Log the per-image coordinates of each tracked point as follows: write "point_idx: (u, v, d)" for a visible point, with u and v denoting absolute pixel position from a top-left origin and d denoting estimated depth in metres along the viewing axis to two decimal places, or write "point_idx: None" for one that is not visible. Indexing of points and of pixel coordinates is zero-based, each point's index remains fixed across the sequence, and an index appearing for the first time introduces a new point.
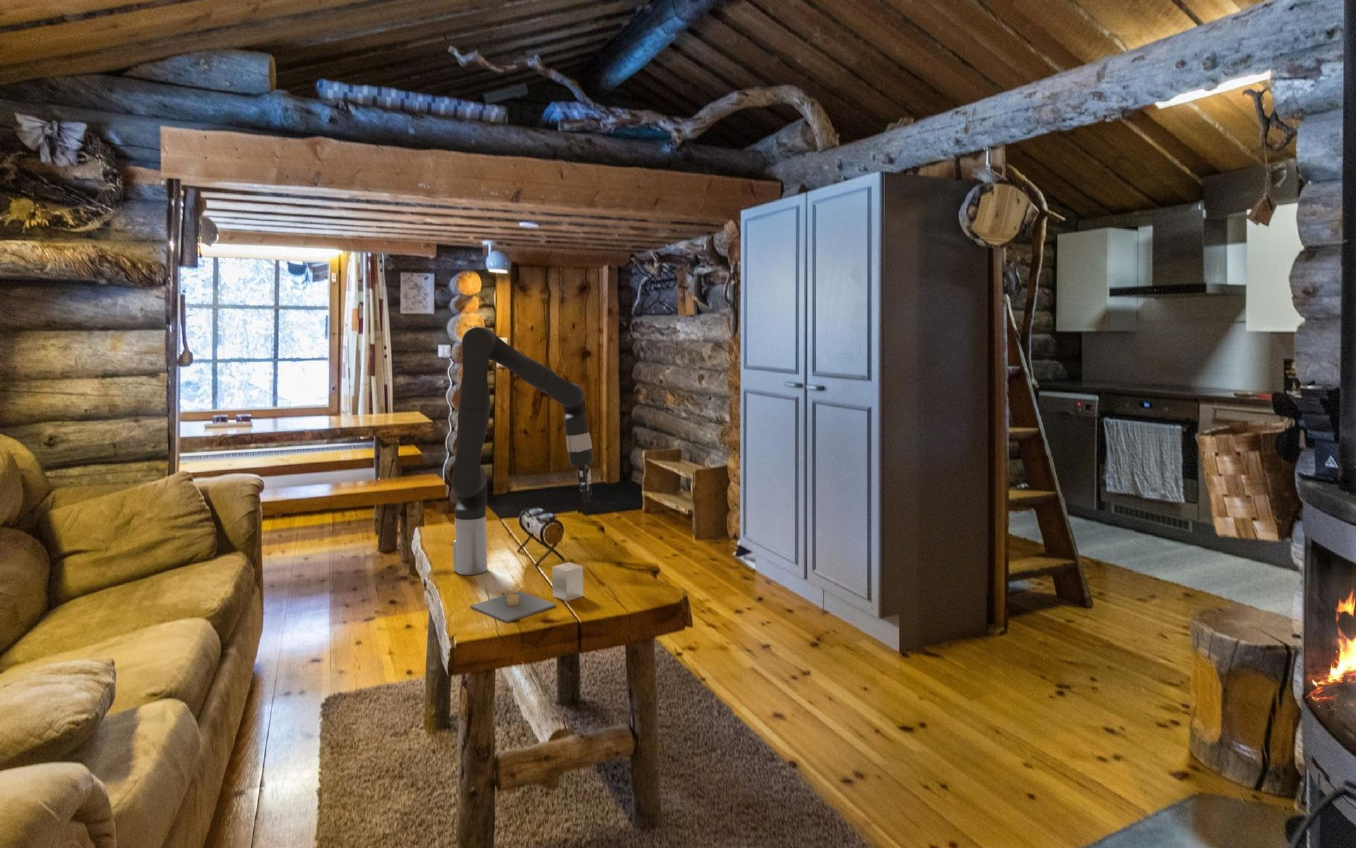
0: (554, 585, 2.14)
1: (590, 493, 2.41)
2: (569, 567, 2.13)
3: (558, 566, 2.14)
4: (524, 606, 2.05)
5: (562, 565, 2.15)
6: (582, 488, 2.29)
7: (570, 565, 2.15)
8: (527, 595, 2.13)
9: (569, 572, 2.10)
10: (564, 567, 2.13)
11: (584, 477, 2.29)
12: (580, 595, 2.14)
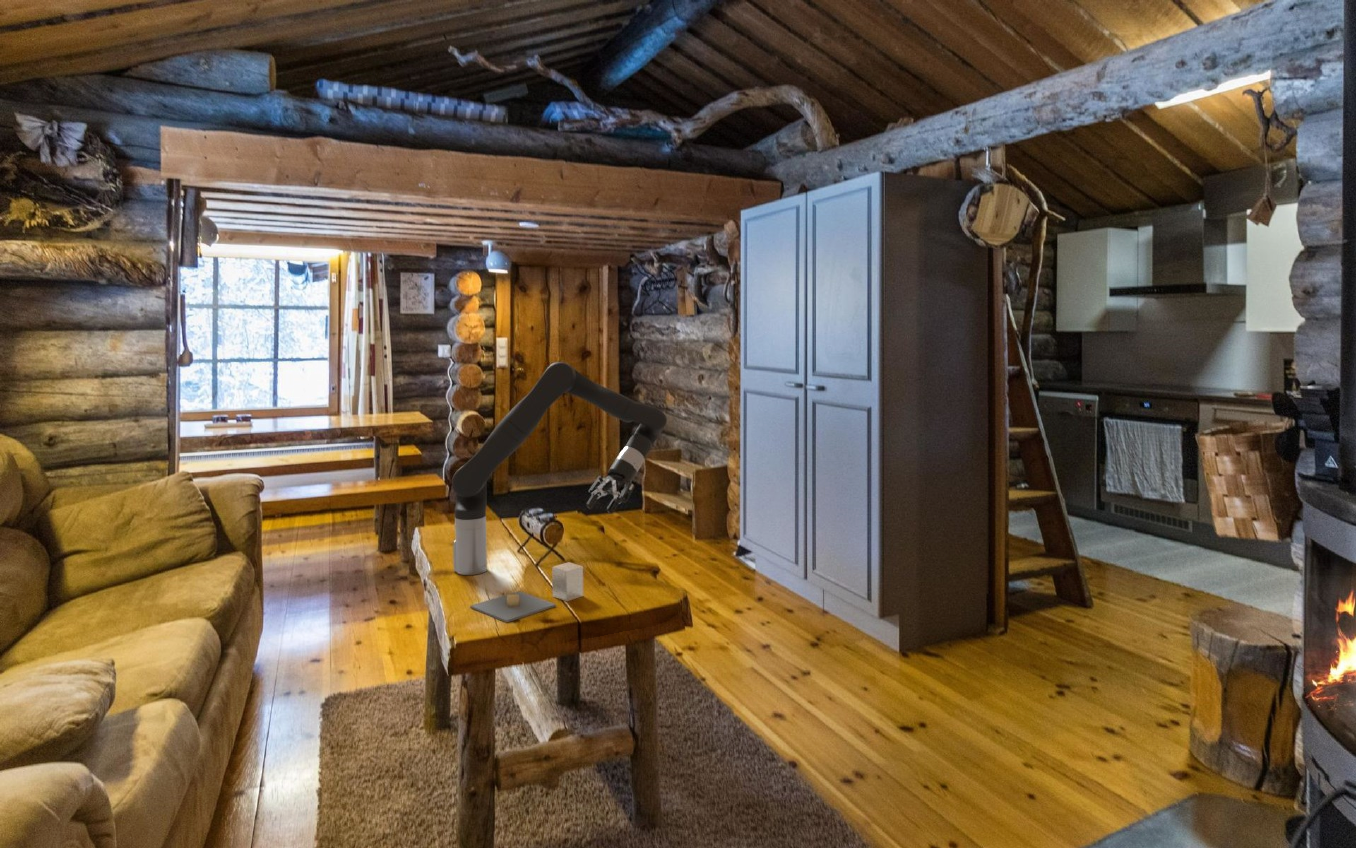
0: (554, 585, 2.14)
1: (592, 506, 2.24)
2: (569, 567, 2.13)
3: (558, 566, 2.14)
4: (524, 606, 2.05)
5: (562, 565, 2.15)
6: (623, 498, 2.18)
7: (570, 565, 2.15)
8: (527, 595, 2.13)
9: (569, 572, 2.10)
10: (564, 567, 2.13)
11: (631, 491, 2.20)
12: (580, 595, 2.14)
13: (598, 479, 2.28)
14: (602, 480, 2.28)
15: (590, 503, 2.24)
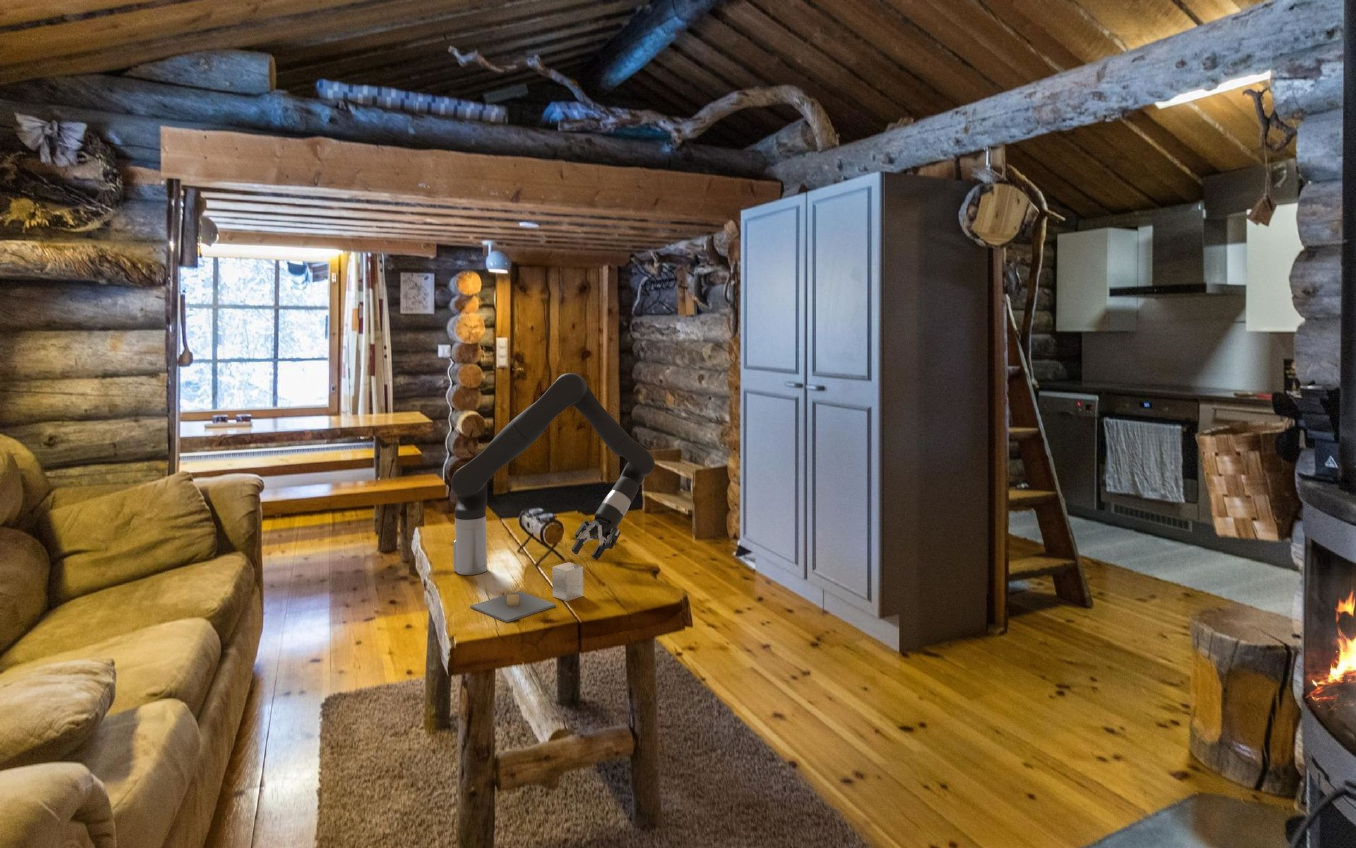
0: (554, 585, 2.14)
1: (578, 551, 2.22)
2: (569, 567, 2.13)
3: (558, 566, 2.14)
4: (524, 606, 2.05)
5: (562, 565, 2.15)
6: (609, 545, 2.16)
7: (570, 565, 2.15)
8: (527, 595, 2.13)
9: (569, 572, 2.10)
10: (564, 567, 2.13)
11: (617, 537, 2.18)
12: (580, 595, 2.14)
13: (584, 523, 2.25)
14: (588, 524, 2.25)
15: (576, 548, 2.21)
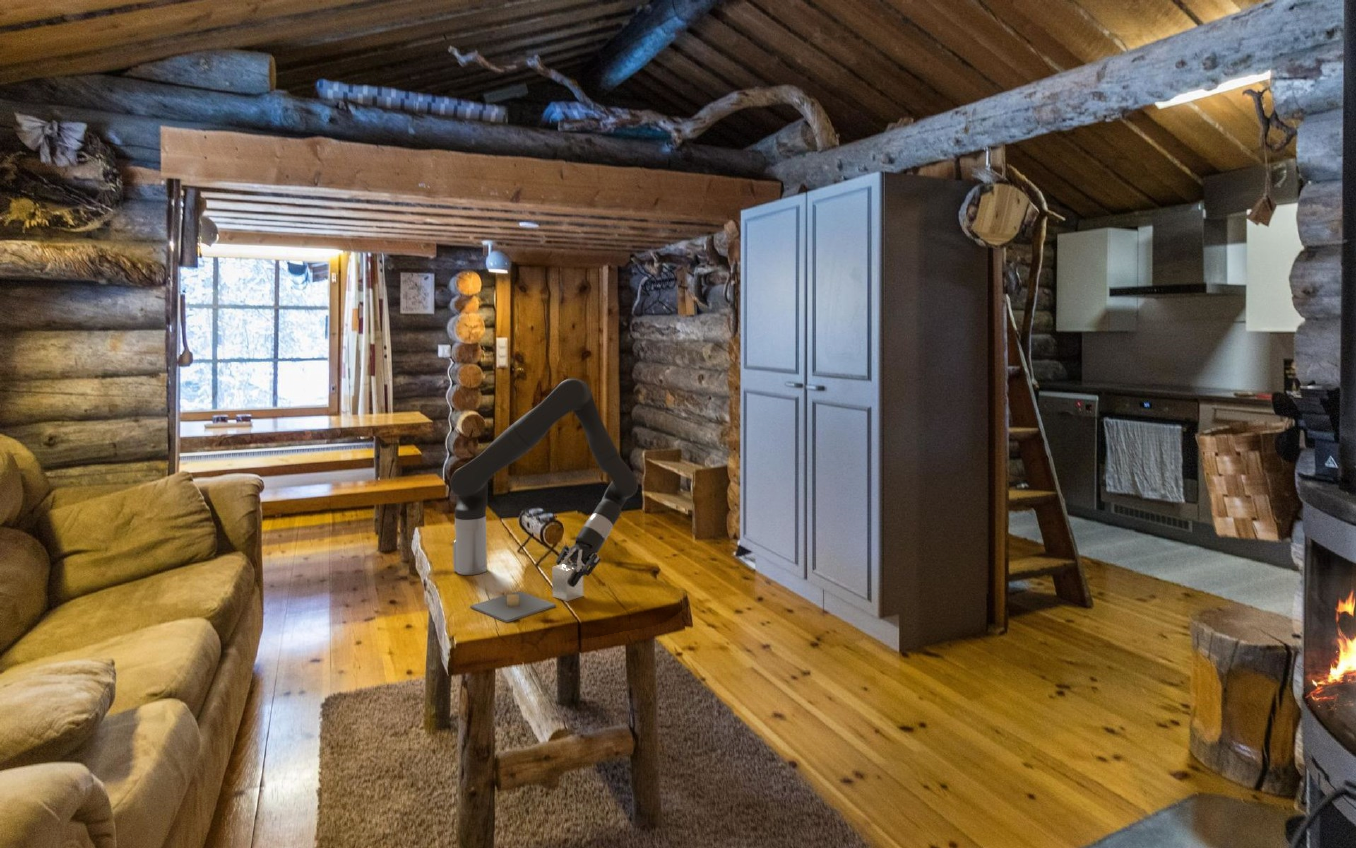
0: (554, 585, 2.14)
1: None
2: (569, 567, 2.13)
3: (558, 566, 2.14)
4: (524, 606, 2.05)
5: (562, 565, 2.15)
6: (586, 571, 2.11)
7: (570, 565, 2.15)
8: (527, 595, 2.13)
9: (569, 572, 2.10)
10: (564, 567, 2.13)
11: (595, 564, 2.13)
12: (580, 595, 2.14)
13: (564, 549, 2.20)
14: (568, 549, 2.20)
15: None
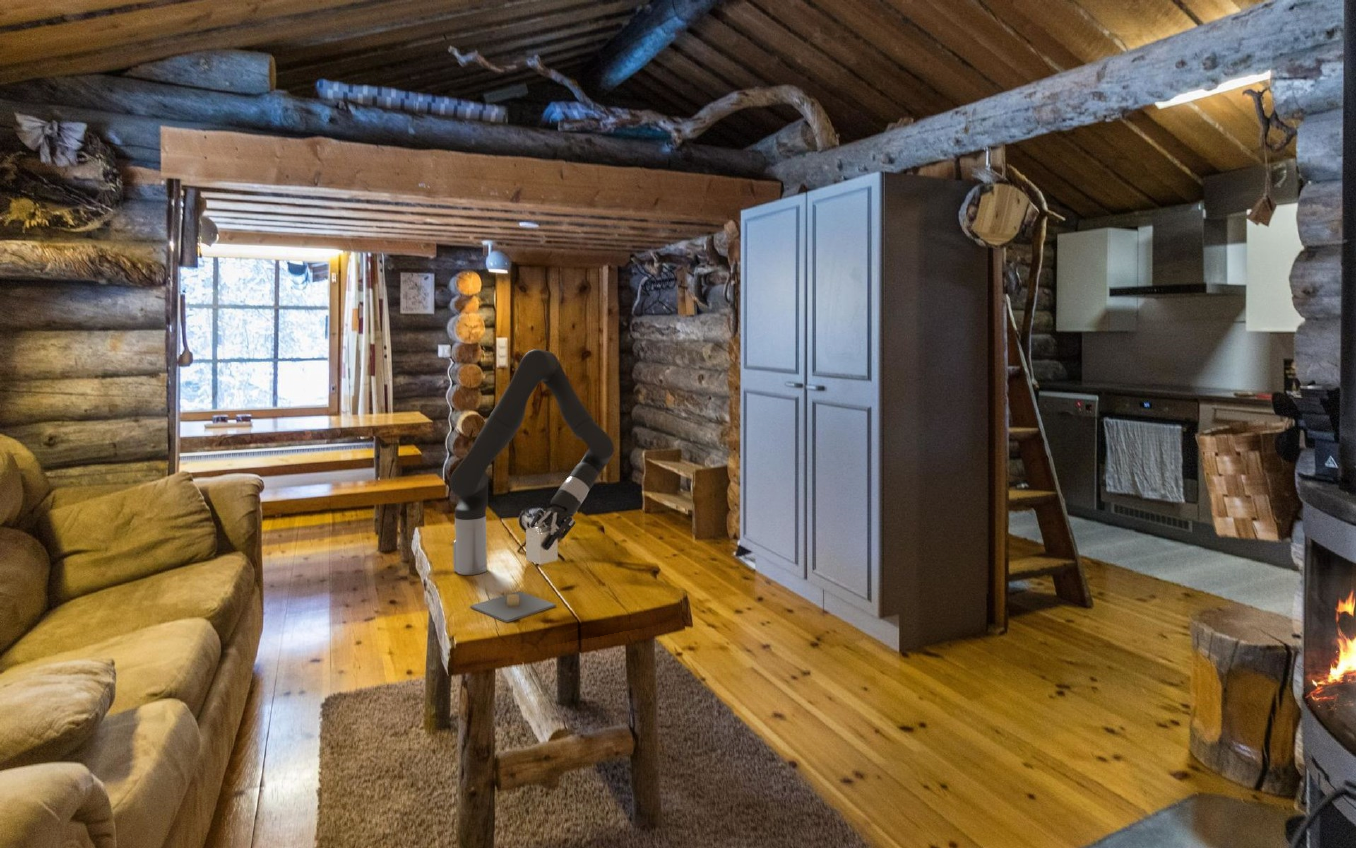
0: (528, 548, 2.08)
1: None
2: (544, 530, 2.08)
3: (532, 529, 2.09)
4: (524, 606, 2.05)
5: (536, 528, 2.10)
6: (560, 534, 2.06)
7: (544, 528, 2.10)
8: (527, 595, 2.13)
9: (543, 535, 2.05)
10: (538, 530, 2.07)
11: (570, 527, 2.08)
12: (554, 559, 2.09)
13: (539, 512, 2.15)
14: (543, 513, 2.15)
15: None
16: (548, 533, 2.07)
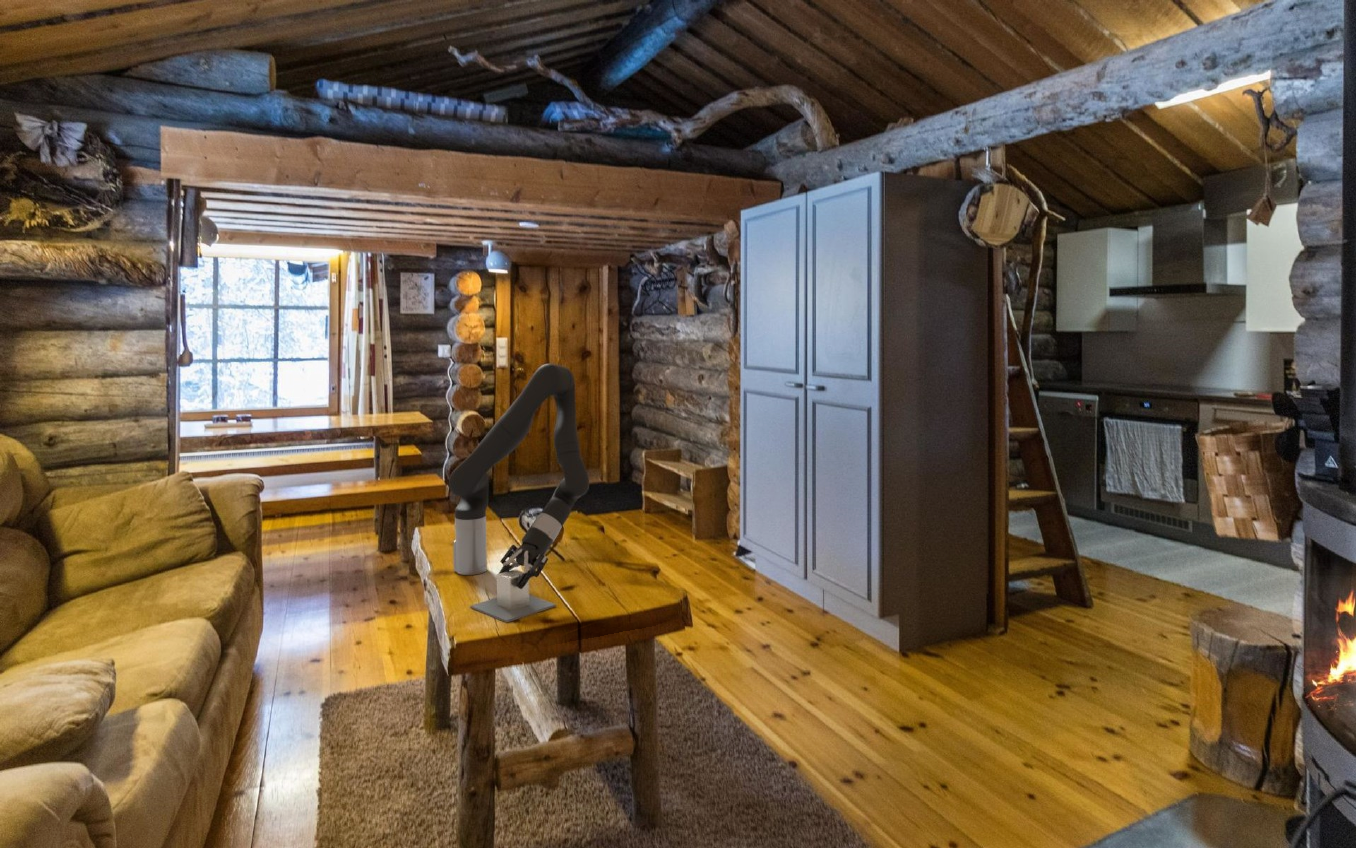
0: (498, 593, 2.05)
1: None
2: (514, 574, 2.04)
3: (503, 573, 2.05)
4: (524, 606, 2.05)
5: (507, 572, 2.06)
6: (535, 572, 2.02)
7: (515, 572, 2.06)
8: None
9: (513, 580, 2.01)
10: (509, 575, 2.04)
11: (543, 564, 2.04)
12: (526, 604, 2.05)
13: (511, 548, 2.11)
14: (516, 549, 2.11)
15: None
16: None
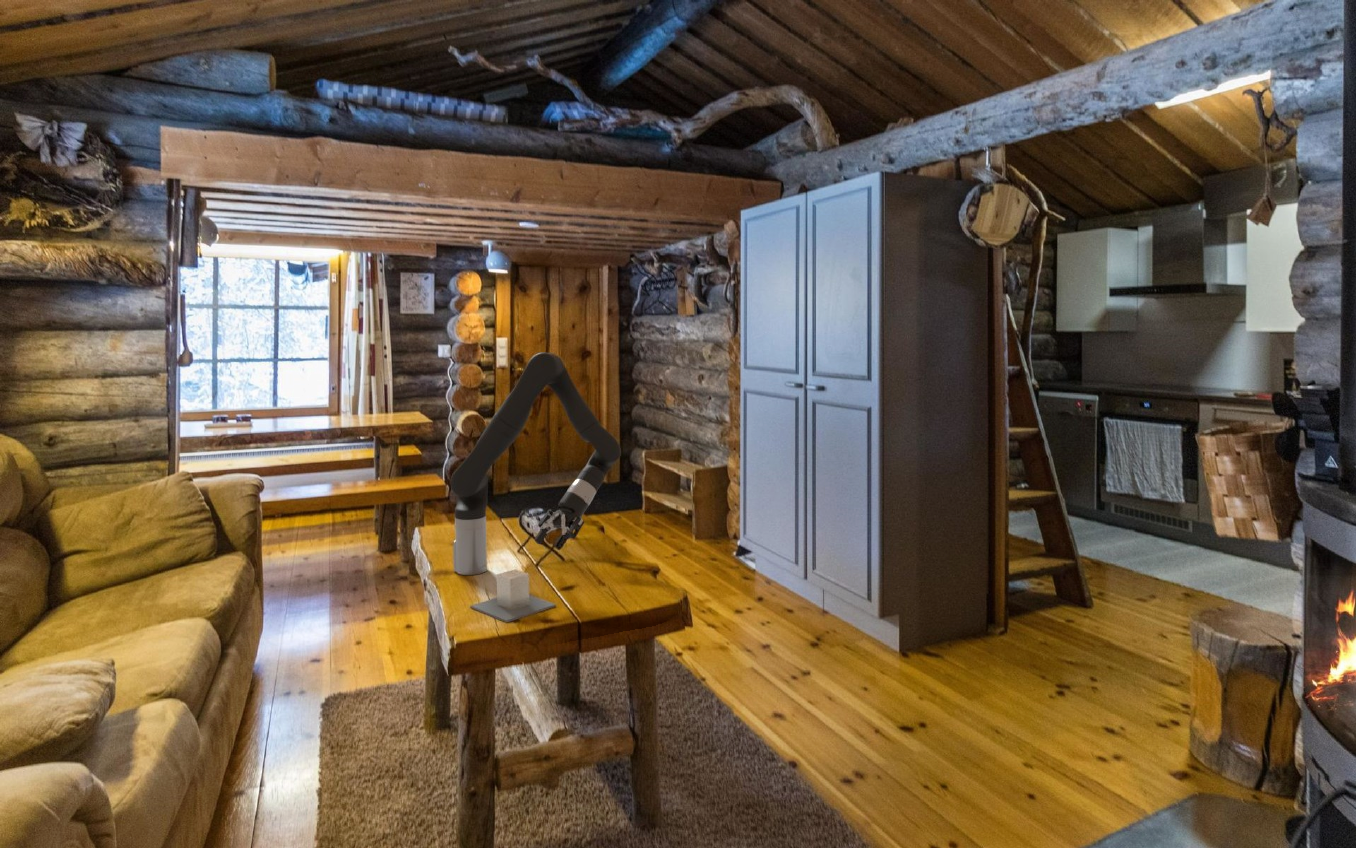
0: (498, 593, 2.05)
1: (541, 541, 2.16)
2: (514, 574, 2.04)
3: (503, 573, 2.05)
4: (524, 606, 2.05)
5: (507, 572, 2.06)
6: (572, 534, 2.10)
7: (515, 572, 2.06)
8: None
9: (513, 580, 2.01)
10: (509, 575, 2.04)
11: (580, 527, 2.12)
12: (526, 604, 2.05)
13: (548, 512, 2.20)
14: (552, 513, 2.20)
15: (539, 538, 2.16)
16: (519, 578, 2.03)
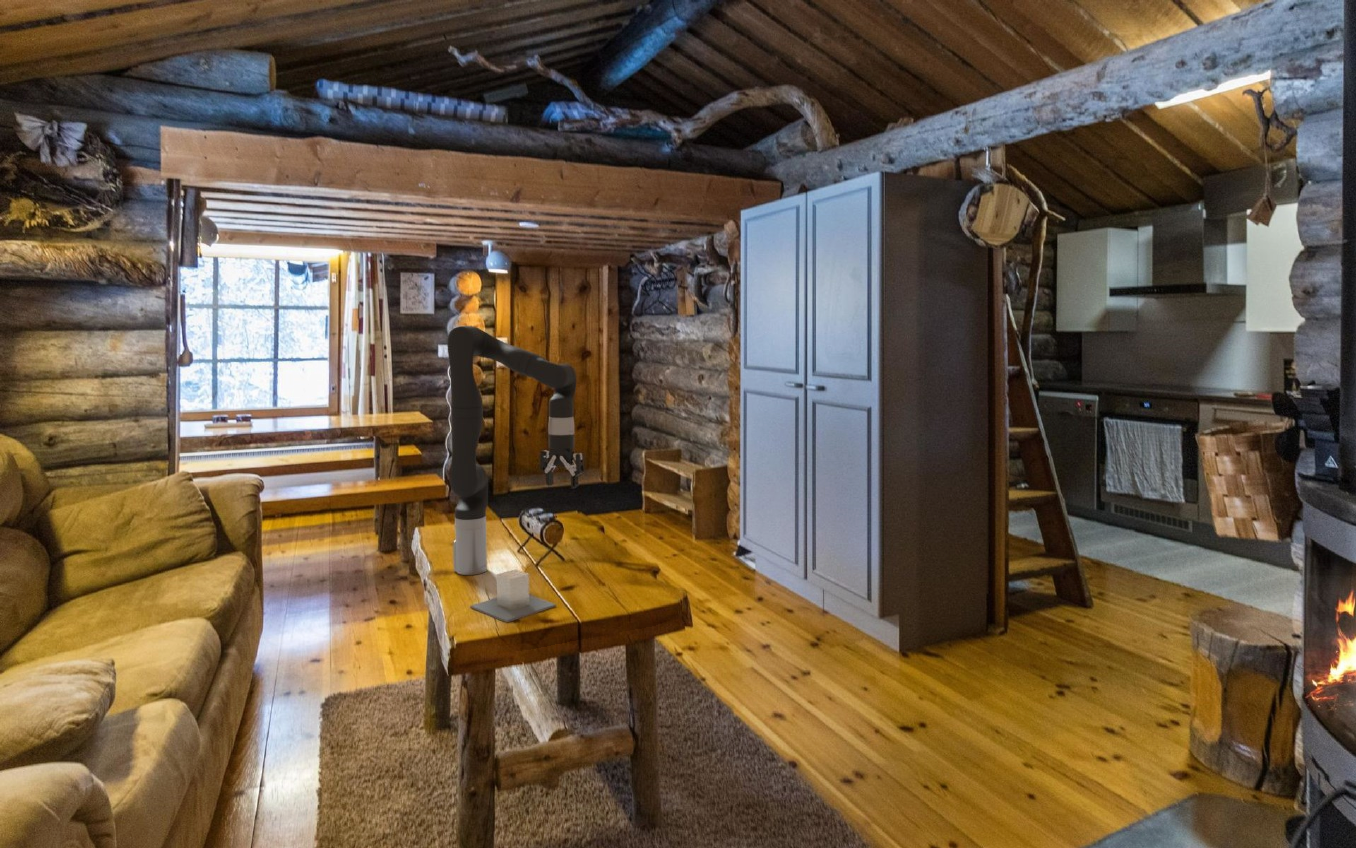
0: (498, 593, 2.05)
1: (552, 481, 2.29)
2: (514, 574, 2.04)
3: (503, 573, 2.05)
4: (524, 606, 2.05)
5: (507, 572, 2.06)
6: (581, 471, 2.23)
7: (515, 572, 2.06)
8: None
9: (513, 580, 2.01)
10: (509, 575, 2.04)
11: (583, 460, 2.23)
12: (526, 604, 2.05)
13: (542, 455, 2.27)
14: (546, 453, 2.27)
15: (550, 481, 2.28)
16: (519, 578, 2.03)
